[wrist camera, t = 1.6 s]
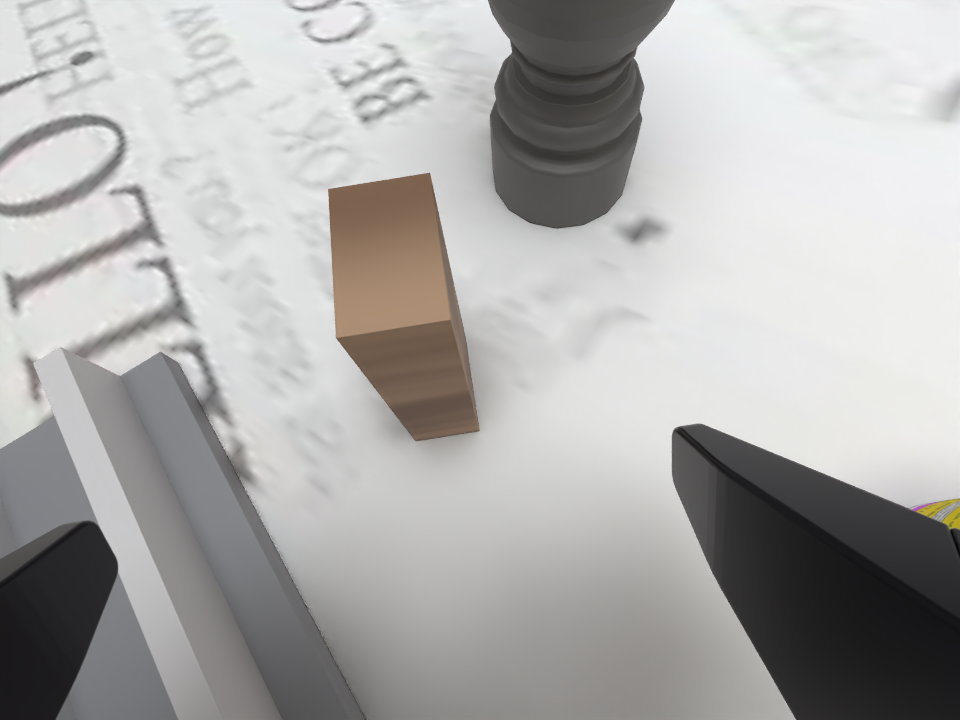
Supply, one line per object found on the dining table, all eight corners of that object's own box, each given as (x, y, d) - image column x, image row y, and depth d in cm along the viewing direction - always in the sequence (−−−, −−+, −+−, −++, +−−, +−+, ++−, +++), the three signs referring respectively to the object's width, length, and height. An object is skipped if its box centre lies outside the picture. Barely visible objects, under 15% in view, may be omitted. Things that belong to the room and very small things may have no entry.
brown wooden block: (479, 431, 21) (450, 319, 12) (415, 441, 21) (336, 338, 12) (462, 318, 23) (426, 144, 13) (404, 327, 23) (326, 160, 13)
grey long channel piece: (404, 793, 17) (371, 861, 13) (107, 1037, 15) (-34, 1201, 11) (177, 362, 23) (107, 319, 19) (-54, 505, 21) (-183, 489, 17)
